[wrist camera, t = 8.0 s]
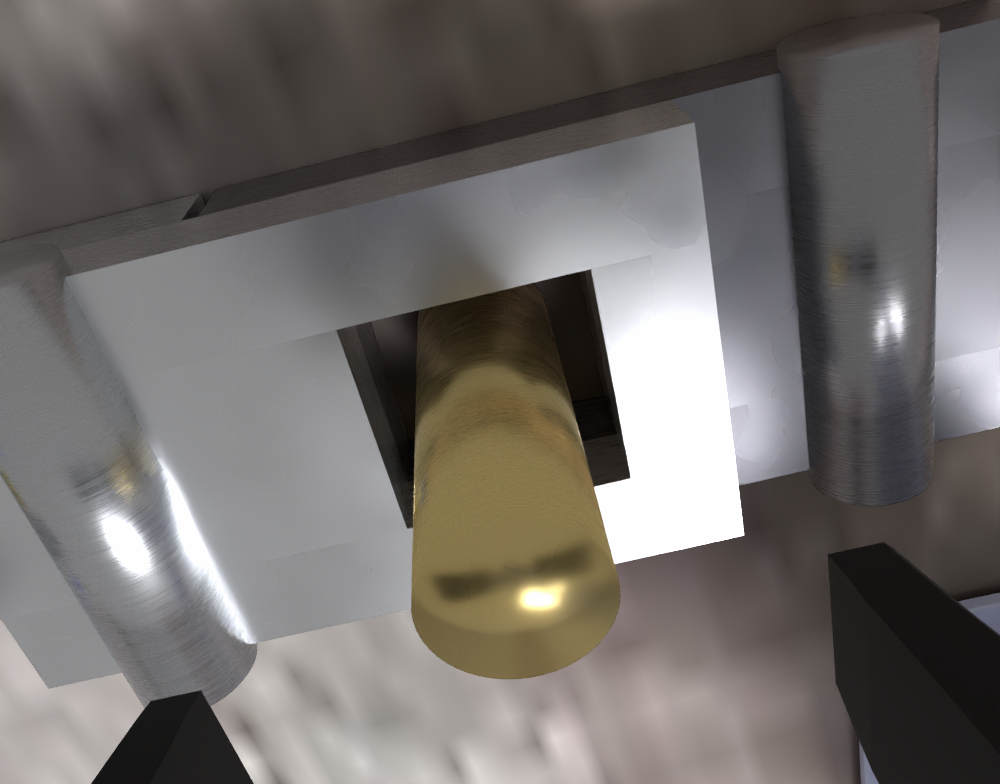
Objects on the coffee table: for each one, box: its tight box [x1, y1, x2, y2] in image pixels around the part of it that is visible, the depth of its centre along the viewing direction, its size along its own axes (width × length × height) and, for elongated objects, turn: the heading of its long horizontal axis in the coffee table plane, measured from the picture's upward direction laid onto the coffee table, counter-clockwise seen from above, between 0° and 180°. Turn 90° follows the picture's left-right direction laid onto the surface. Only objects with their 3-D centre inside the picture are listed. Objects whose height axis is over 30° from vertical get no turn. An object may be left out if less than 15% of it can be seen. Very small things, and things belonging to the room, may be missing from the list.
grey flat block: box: [198, 0, 1000, 506], centre depth 17 cm, size 9×14×3 cm, turn 103°
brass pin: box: [411, 283, 620, 679], centre depth 15 cm, size 3×3×8 cm
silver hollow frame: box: [0, 100, 744, 708], centre depth 17 cm, size 9×14×4 cm, turn 103°
